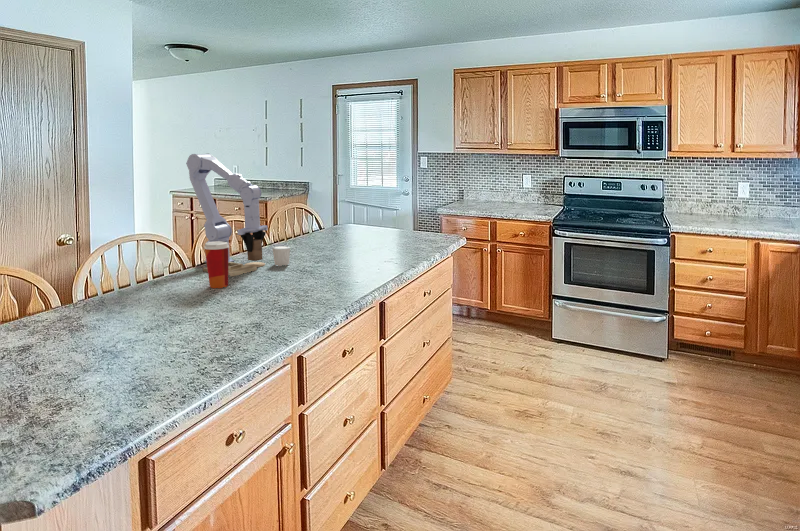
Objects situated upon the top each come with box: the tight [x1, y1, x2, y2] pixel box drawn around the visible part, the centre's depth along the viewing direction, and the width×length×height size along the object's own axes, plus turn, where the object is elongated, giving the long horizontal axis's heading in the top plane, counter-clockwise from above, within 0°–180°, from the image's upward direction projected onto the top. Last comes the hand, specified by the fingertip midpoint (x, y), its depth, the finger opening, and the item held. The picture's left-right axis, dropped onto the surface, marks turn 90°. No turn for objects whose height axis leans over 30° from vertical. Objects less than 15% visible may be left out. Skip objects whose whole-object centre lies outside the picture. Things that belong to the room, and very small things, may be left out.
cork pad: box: [243, 261, 266, 268], centre depth 228 cm, size 8×8×1 cm
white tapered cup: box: [272, 245, 291, 267], centre depth 229 cm, size 7×7×7 cm
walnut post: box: [246, 238, 263, 262], centre depth 226 cm, size 4×4×8 cm
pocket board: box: [202, 261, 258, 277], centre depth 218 cm, size 16×12×2 cm
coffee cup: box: [203, 241, 230, 289], centre depth 193 cm, size 8×8×15 cm
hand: (254, 250), depth 226 cm, fingers closed on walnut post, 4 cm apart
